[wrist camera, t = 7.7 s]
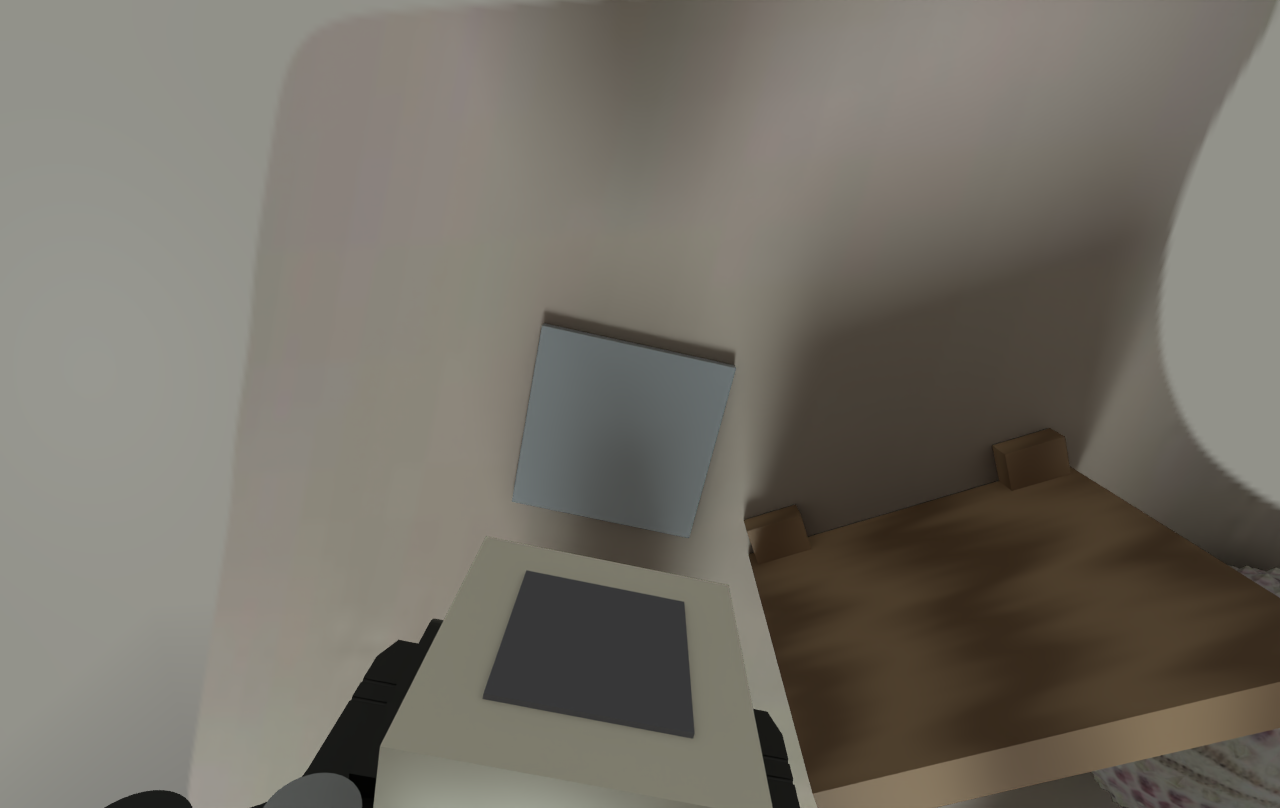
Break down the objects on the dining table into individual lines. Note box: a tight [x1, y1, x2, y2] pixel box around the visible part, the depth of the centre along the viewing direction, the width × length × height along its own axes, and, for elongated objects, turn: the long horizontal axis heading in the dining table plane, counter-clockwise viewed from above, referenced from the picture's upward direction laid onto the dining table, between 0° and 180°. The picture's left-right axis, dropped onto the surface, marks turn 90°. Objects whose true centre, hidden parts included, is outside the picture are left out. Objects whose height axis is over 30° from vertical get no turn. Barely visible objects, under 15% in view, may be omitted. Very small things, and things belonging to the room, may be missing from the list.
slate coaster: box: [512, 323, 736, 538], centre depth 26 cm, size 8×8×1 cm
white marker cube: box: [373, 536, 773, 808], centre depth 11 cm, size 5×5×5 cm
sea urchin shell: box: [1091, 565, 1280, 808], centre depth 26 cm, size 13×14×8 cm
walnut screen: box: [744, 428, 1280, 808], centre depth 22 cm, size 14×5×12 cm, turn 110°
